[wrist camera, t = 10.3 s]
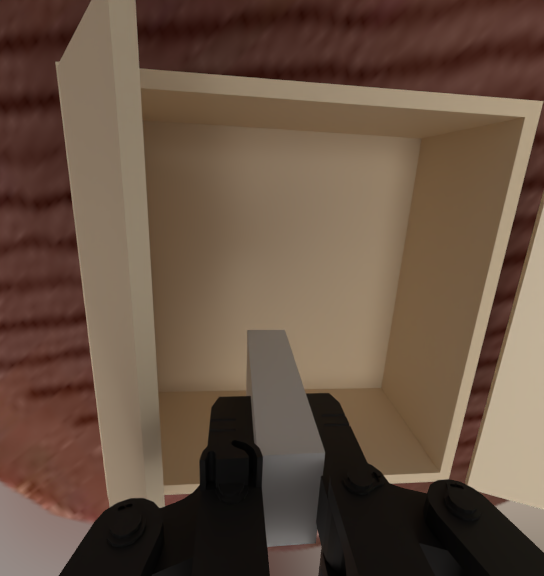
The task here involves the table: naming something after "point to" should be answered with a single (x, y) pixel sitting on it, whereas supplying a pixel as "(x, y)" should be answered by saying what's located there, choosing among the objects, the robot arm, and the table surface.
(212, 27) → the table surface
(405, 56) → the table surface
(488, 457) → the flap
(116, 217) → the flap
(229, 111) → the carton
